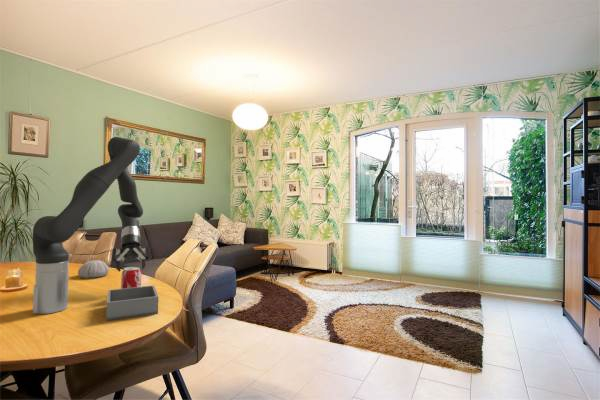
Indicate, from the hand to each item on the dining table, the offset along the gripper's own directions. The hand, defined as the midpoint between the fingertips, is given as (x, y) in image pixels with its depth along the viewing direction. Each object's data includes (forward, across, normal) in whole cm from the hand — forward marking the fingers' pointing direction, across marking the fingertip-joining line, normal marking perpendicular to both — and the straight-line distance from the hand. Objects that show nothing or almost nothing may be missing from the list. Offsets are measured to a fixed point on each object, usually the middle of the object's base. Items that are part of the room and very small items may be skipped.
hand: (131, 269), depth 130 cm
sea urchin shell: (-21, -15, +36) cm, 45 cm away
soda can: (+11, 0, +4) cm, 12 cm away
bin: (+21, 0, -6) cm, 22 cm away
